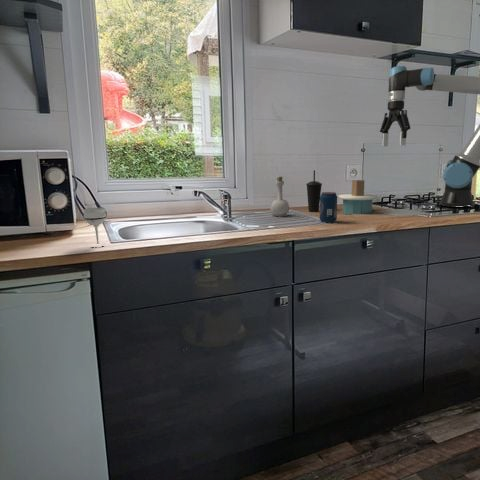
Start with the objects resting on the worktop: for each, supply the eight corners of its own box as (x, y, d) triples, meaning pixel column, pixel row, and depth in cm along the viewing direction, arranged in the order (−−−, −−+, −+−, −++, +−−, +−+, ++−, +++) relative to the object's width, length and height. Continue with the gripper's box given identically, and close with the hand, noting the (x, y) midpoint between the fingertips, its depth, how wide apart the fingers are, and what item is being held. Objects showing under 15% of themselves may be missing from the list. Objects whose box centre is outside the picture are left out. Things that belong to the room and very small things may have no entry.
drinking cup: (317, 213, 185) (318, 170, 181) (303, 211, 190) (303, 170, 185) (324, 211, 191) (325, 170, 187) (310, 210, 196) (310, 170, 191)
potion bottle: (277, 217, 174) (277, 177, 170) (266, 215, 181) (266, 176, 177) (293, 215, 178) (293, 176, 174) (281, 213, 185) (281, 175, 182)
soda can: (318, 220, 164) (319, 192, 161) (335, 220, 163) (336, 191, 160) (320, 223, 157) (321, 193, 154) (337, 223, 156) (338, 193, 154)
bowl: (361, 210, 190) (362, 196, 188) (377, 213, 177) (378, 198, 176) (337, 212, 186) (338, 197, 185) (352, 215, 174) (352, 200, 173)
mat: (405, 210, 188) (405, 208, 187) (432, 214, 171) (432, 213, 170) (373, 212, 183) (373, 210, 183) (397, 217, 166) (397, 216, 166)
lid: (363, 195, 191) (363, 178, 189) (384, 198, 175) (385, 180, 173) (332, 197, 186) (332, 180, 185) (351, 200, 170) (352, 182, 169)
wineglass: (111, 243, 128) (107, 207, 125) (107, 248, 121) (103, 210, 119) (89, 244, 127) (85, 208, 125) (84, 249, 120) (80, 211, 118)
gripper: (374, 104, 199) (372, 146, 203) (406, 97, 175) (403, 145, 180) (386, 104, 201) (384, 146, 205) (420, 97, 177) (417, 144, 182)
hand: (393, 146), depth 193 cm, fingers open, 13 cm apart
